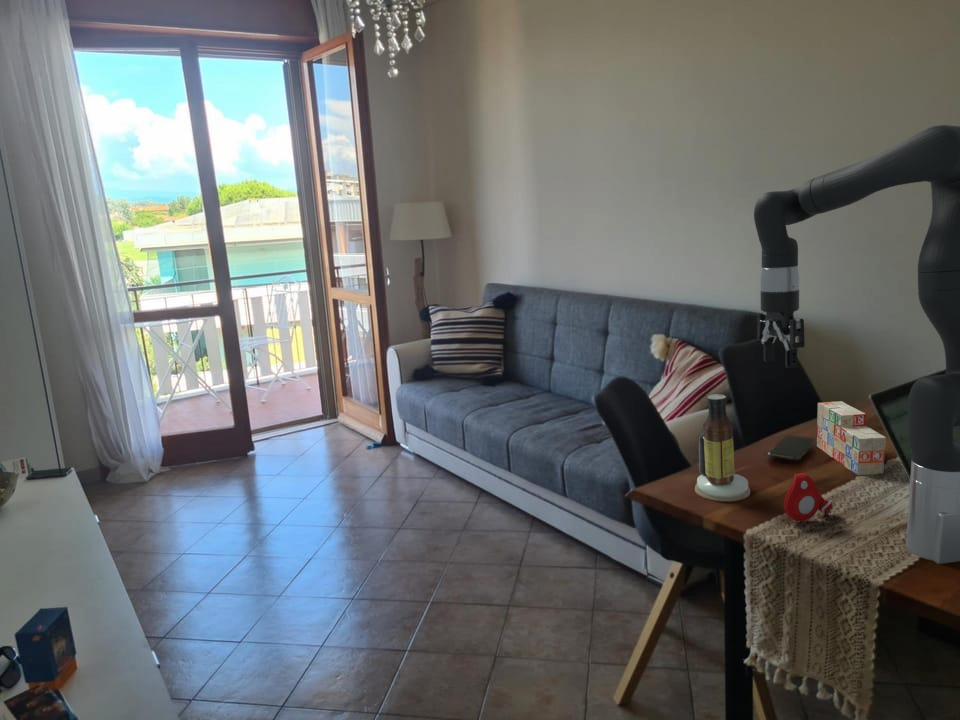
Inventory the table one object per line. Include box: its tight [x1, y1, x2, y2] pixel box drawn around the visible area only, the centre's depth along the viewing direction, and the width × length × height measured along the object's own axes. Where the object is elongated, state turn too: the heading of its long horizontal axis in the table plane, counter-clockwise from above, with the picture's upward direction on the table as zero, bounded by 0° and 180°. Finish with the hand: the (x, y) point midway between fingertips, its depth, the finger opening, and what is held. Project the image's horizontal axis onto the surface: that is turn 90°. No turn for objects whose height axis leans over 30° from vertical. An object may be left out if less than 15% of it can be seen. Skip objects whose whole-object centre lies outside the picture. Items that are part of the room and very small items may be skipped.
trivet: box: [694, 473, 751, 503], centre depth 162 cm, size 12×12×2 cm
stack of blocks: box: [816, 400, 887, 476], centre depth 175 cm, size 21×6×12 cm, turn 179°
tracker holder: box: [783, 472, 834, 522], centre depth 145 cm, size 12×4×10 cm, turn 105°
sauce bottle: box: [703, 393, 735, 484], centre depth 159 cm, size 6×6×20 cm
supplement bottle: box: [698, 423, 706, 476], centre depth 166 cm, size 7×7×12 cm
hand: (779, 364), depth 152 cm, fingers open, 8 cm apart
